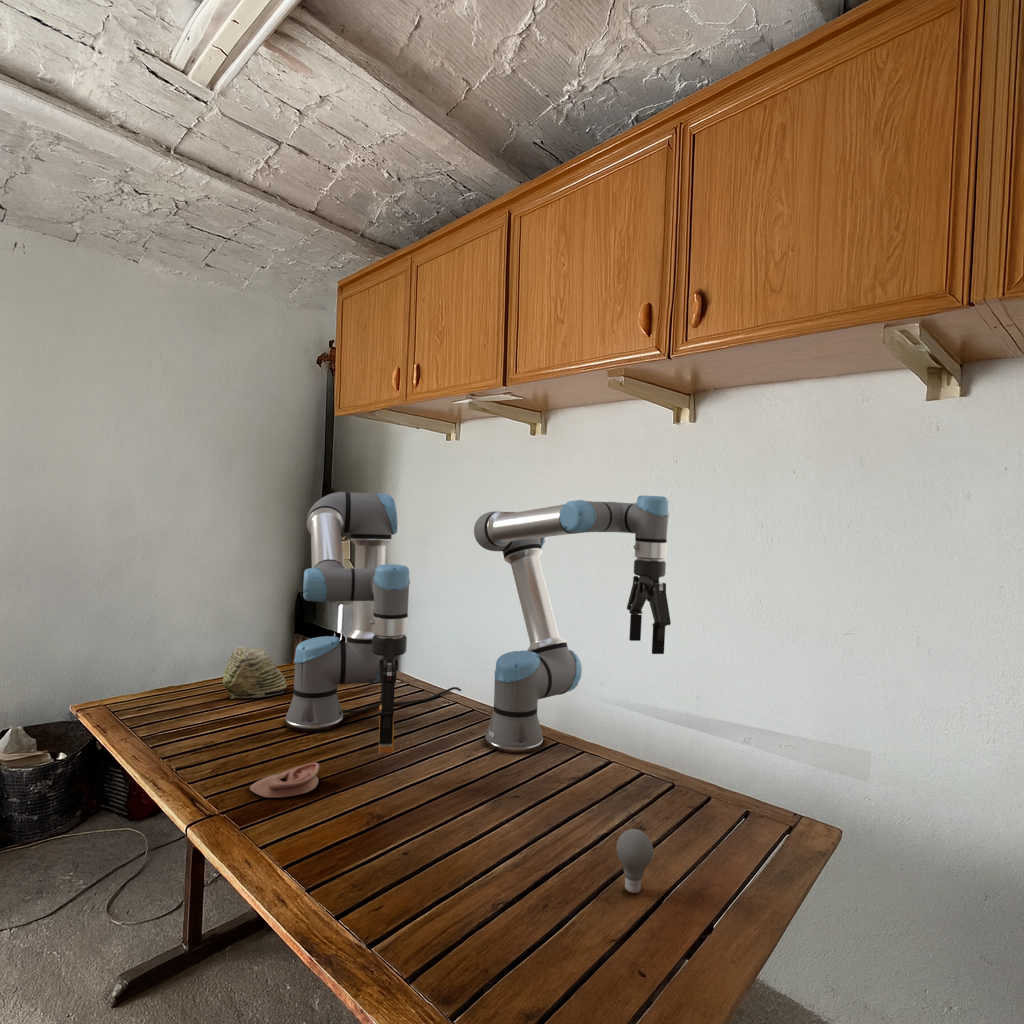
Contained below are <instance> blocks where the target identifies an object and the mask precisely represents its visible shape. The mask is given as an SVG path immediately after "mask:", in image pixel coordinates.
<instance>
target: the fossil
mask: <svg viewBox="0 0 1024 1024" xmlns="http://www.w3.org/2000/svg"><path fill="white" fill-rule="evenodd" d="M222 676H223V677H222V685H223V687H224V688H225V690H226V691H228V693H229V698H230V699H250V698H264V697H271V696H275V695H281V694H284V693H285V691H286V689H287V687H288V686H287V680H286V678H285V676H284V674H283V673H282V672H281V669H279V668H278V667H277V665H276V663H275V662H274V660H273V659H272V658H271V657H270V656H269V655H268V654H267V653H266V652H265V650H264V649H263V648H260V647H258V648H251V647H247V646H246V647H245V646H238V647H237V648H236V649H235V650H233V651H232V653H231V656H230V657H229V659H228V660H227V663H226V666H225V668H224V671H223V675H222Z"/></svg>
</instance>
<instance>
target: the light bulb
mask: <svg viewBox="0 0 1024 1024" xmlns="http://www.w3.org/2000/svg"><path fill="white" fill-rule="evenodd" d="M615 849H616V854H617V857H618V859H619V861H620V863H621V865H622V867H623V873H624V874H623V875H624V876H625V878H624V888H625V890H627V891H628V892H630V893H634V894H635V893H639V892H640V891H641V889H642V887H641V886H642V879H643V877H644V875H645V871H646V868H647V867H648V866H649V864H650V863H651V861H652V859H653V855H654V847H653V843H652V841H651V838H649V836H648V835H647V834H646V833H645V832H643V831H642V830H641V829H636V828H629V829H627V830H625V831H623V832H622V833H621V834H620V835H619V837H618V839H617V841H616V847H615Z"/></svg>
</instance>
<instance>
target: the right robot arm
mask: <svg viewBox="0 0 1024 1024" xmlns="http://www.w3.org/2000/svg"><path fill="white" fill-rule="evenodd" d="M669 516H670V512H669V499H668V498H667V497H666V496H663V495H638V496H637V498H636V502H634V503H633V502H620V501H619V502H618V501H592V500H583V499H576V500H569V501H567V502H566V503H565V504H558V505H552V506H547V507H540V508H534V509H530V510H529V509H528V510H522V511H498V510H497V511H495V510H494V511H488V512H485V513H483V514H481V515H480V516H479V517H478V518H477V519H476V521H475V523H474V526H473V535H474V538H475V541H476V542H477V544H478V545H479V546H480V547H481V548H483V549H485V550H487V551H491V552H502V555H503V559H504V561H505V562H506V563H508V564H509V565H510V566H511V570H512V574H513V575H512V576H513V579H514V583H515V587H516V591H517V594H518V598H519V603H520V607H521V612H522V615H523V620H524V622H525V623H524V624H525V628H526V632H527V636H528V639H529V640H528V641H529V647H528V648H527V650H513V651H509V652H506V653H503V654H501V655H500V656H499V657H498V658H497V659H496V661H495V669H494V691H493V692H494V693H493V712H492V715H491V718H490V721H489V723H488V725H487V729H486V732H485V738H484V739H485V744H486V745H487V746H488V748H491V749H493V750H495V751H499V752H502V753H509V754H526V753H532V752H534V751H538V750H539V749H540V748H542V746H543V743H544V736H543V731H542V728H541V723H540V721H539V717H538V702H539V700H542V699H546V698H550V697H554V696H561V695H565V694H566V693H568V692H571V691H573V690H575V688H576V687H578V685H579V682H580V681H581V678H582V674H583V673H582V671H583V670H582V662H581V659H580V657H579V656H578V654H576V653H575V651H574V650H571V649H570V648H569V647H568V643H567V641H566V640H565V639H563V638H562V637H561V636H560V633H559V629H558V627H557V626H558V625H557V622H556V617H555V614H554V610H553V606H552V601H551V599H550V594H549V591H548V587H547V583H546V579H545V575H544V570H543V568H542V564H541V560H540V557H541V555H542V554H543V546H544V545H545V543H546V540H545V538H548V537H555V536H556V537H557V536H565V535H575V534H585V533H623V534H634V538H635V539H634V540H635V541H634V545H633V549H634V557H635V559H634V561H633V574H634V576H633V577H632V579H633V580H632V586H631V590H630V594H629V597H628V601H627V604H626V611H629V612H628V613H629V614H630V615H629V616H630V617H629V637H628V638H629V639H628V640H629V641H630V642H640V641H641V639H642V638H641V637H642V622H643V621H642V618H643V611H642V610H643V607H644V605H645V603H646V602H648V603H649V606H650V610H651V615H652V618H653V623H652V625H651V626H652V637H651V638H652V639H651V654H652V655H664V654H665V642H666V641H665V640H666V627H667V626H670V625H671V624H672V622H671V615H670V609H669V603H668V597H667V583H666V582H660V578H663V577H665V576H666V571H667V570H666V569H667V568H666V567H667V562H666V561H665V560H666V559H667V554H668V553H667V552H668V551H667V550H668V542H667V541H668V538H667V537H668V526H669Z"/></svg>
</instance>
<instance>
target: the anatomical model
mask: <svg viewBox="0 0 1024 1024" xmlns="http://www.w3.org/2000/svg"><path fill="white" fill-rule="evenodd" d="M319 770H320V764H319V763H318V762H310V763H307V764H303V765H299V766H297V767H294V768H290V769H288V770H285V771H282V772H279V773H276V774H272V775H269V776H266V777H264V778H261V779H259V780H257V781H255V782H254V783H253V784H251V785H250V786H249V790H250V792H251V793H253V794H256V795H257V796H259V797H263V798H266V799H267V798H268V799H274V798H275V799H276V798H286V797H288V798H289V797H293V796H299V795H303V794H306V793H308V792H310V791H313V790H314V789H316V787H317V786H318V784H319V778H318V777H317V775H318V773H319Z"/></svg>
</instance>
